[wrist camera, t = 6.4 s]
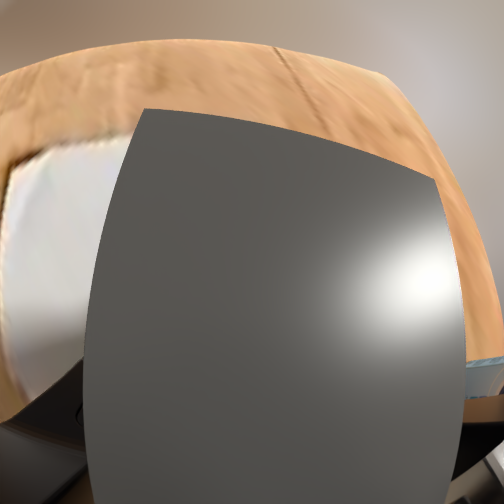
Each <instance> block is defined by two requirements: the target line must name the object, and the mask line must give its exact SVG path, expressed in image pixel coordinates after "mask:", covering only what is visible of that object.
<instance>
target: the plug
mask: <svg viewBox="0 0 504 504" xmlns="http://www.w3.org/2000/svg"><path fill="white" fill-rule="evenodd" d="M465 385H466V339H465V322H464V311H463V302H462V293H461V286H460V279H459V273H458V268H457V262H456V257H455V252H454V247H453V243H452V239H451V234H450V230H449V226H448V223H447V219H446V215H445V212H444V208H443V205H442V202H441V198H440V195H439V192H438V189H437V186H436V183H435V180H434V179H432V178H430V177H428V176H426V175H423V174H421V173H419V172H417V171H414V170H412V169H409V168H407V167H405V166H402V165H400V164H397V163H394V162H392V161H389V160H387V159H384V158H381V157H379V156H376V155H373V154H370V153H367V152H364V151H361V150H358V149H355V148H352V147H349V146H346V145H343V144H340V143H336V142H333V141H330V140H326V139H323V138H319V137H316V136H312V135H308V134H304V133H301V132H297V131H293V130H288V129H284V128H280V127H275V126H271V125H266V124H261V123H256V122H251V121H246V120H240V119H234V118H228V117H222V116H215V115H208V114H200V113H192V112H183V111H173V110H161V109H145V108H144V110H143V113H142V115H141V117H140V120H139V122H138V124H137V127H136V129H135V132H134V134H133V137H132V139H131V142H130V144H129V147H128V150H127V152H126V155H125V158H124V161H123V163H122V166H121V169H120V172H119V175H118V178H117V181H116V184H115V188H114V191H113V194H112V198H111V201H110V204H109V208H108V212H107V215H106V219H105V223H104V227H103V231H102V235H101V240H100V244H99V249H98V253H97V258H96V263H95V268H94V274H93V280H92V286H91V292H90V299H89V306H88V314H87V323H86V333H85V346H84V364H83V416H84V432H85V444H86V454H87V462H88V469H89V476H90V482H91V487H92V492H93V497H94V502H95V504H444V502H445V499H446V496H447V493H448V489H449V486H450V482H451V478H452V475H453V471H454V466H455V462H456V457H457V452H458V447H459V441H460V435H461V428H462V421H463V412H464V401H465Z"/></svg>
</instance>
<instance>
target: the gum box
mask: <svg viewBox="0 0 504 504" xmlns="http://www.w3.org/2000/svg"><path fill="white" fill-rule="evenodd" d="M501 394H504V356H501V357H495V358H488V359H481V360H474V361H470V362H468V363H466V385H465V400H466V399H475V398H482V397H489V396H495V395H501Z"/></svg>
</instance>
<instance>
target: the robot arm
mask: <svg viewBox="0 0 504 504" xmlns="http://www.w3.org/2000/svg"><path fill="white" fill-rule="evenodd" d="M83 364H84V356H83V358H82V359H80V360H79V361H78V362H77V363H76V364H75V365H74V366H73V367H72V368H71V369H70V370H69V371H68V372H67V373H66V374H65V375H64V376H63V377H62V378H60V379H59V380H58V381H57V382H56V383H54V384H53V385H52V386H51V387H50V388H49V389H47V390H46V391H45V392H44V393H42V394H41V395H40V396H39V397H37V398H36V399H35V400H34V401H32V402H31V403H30V404H29V405H27V406H26V407H25V408H24V409H22V410H21V411H20V412H19V413H17V414H16V415H15V416H13V417H12V418H10V419H8V420H7V421H4V422H2V423H0V504H95V502H94V497H93V492H92V487H91V482H90V476H89V469H88V462H87V454H86V444H85V432H84V416H83ZM444 504H504V394H501V395H495V396H489V397H482V398H475V399H466V400H465V401H464V412H463V421H462V428H461V435H460V441H459V447H458V452H457V457H456V462H455V466H454V471H453V475H452V478H451V482H450V486H449V489H448V493H447V496H446V499H445V502H444Z"/></svg>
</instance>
